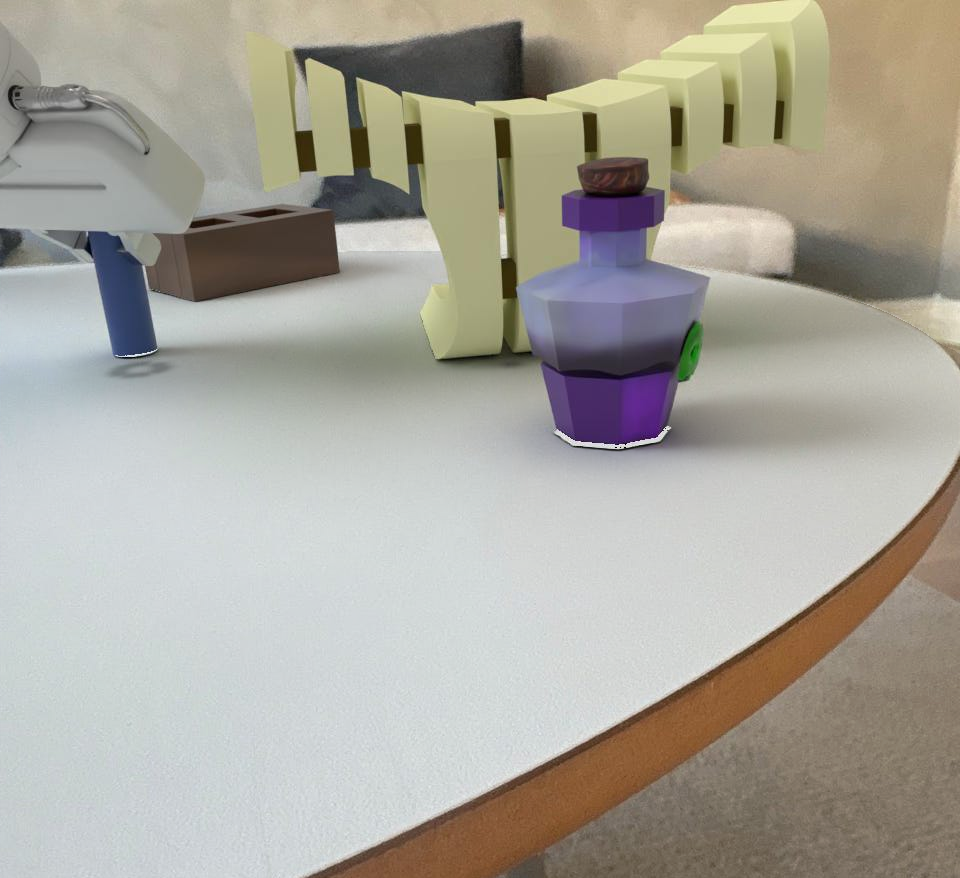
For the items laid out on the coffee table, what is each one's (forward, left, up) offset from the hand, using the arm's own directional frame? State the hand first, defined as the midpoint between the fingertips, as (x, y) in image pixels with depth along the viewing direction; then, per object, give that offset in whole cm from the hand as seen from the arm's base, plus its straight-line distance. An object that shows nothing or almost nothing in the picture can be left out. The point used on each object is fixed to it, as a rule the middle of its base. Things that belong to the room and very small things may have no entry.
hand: (123, 255), depth 68 cm
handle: (0, -1, -6) cm, 6 cm away
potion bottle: (+34, +7, -6) cm, 36 cm away
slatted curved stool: (+17, +18, -6) cm, 26 cm away
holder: (-15, +16, -6) cm, 23 cm away
